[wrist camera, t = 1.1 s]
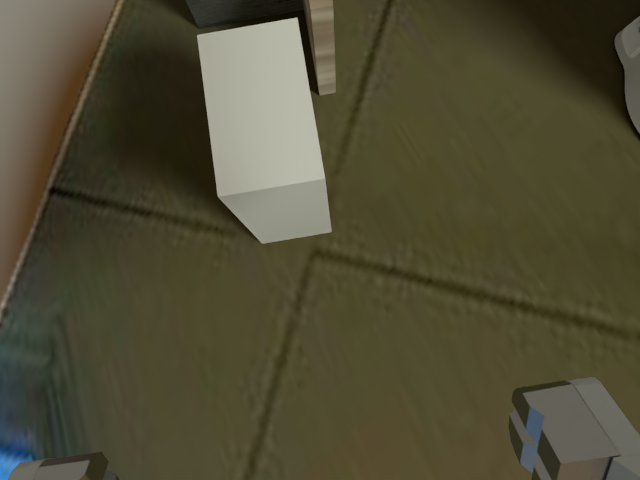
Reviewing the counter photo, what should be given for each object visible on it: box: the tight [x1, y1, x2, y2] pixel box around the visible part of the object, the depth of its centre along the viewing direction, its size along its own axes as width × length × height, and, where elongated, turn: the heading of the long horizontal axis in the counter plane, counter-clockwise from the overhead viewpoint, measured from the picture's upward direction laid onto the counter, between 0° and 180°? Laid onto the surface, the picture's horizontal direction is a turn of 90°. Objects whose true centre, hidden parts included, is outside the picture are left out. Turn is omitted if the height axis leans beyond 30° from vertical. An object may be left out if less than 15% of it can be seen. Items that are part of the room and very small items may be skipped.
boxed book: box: [197, 18, 332, 244], centre depth 35 cm, size 10×6×15 cm, turn 9°
